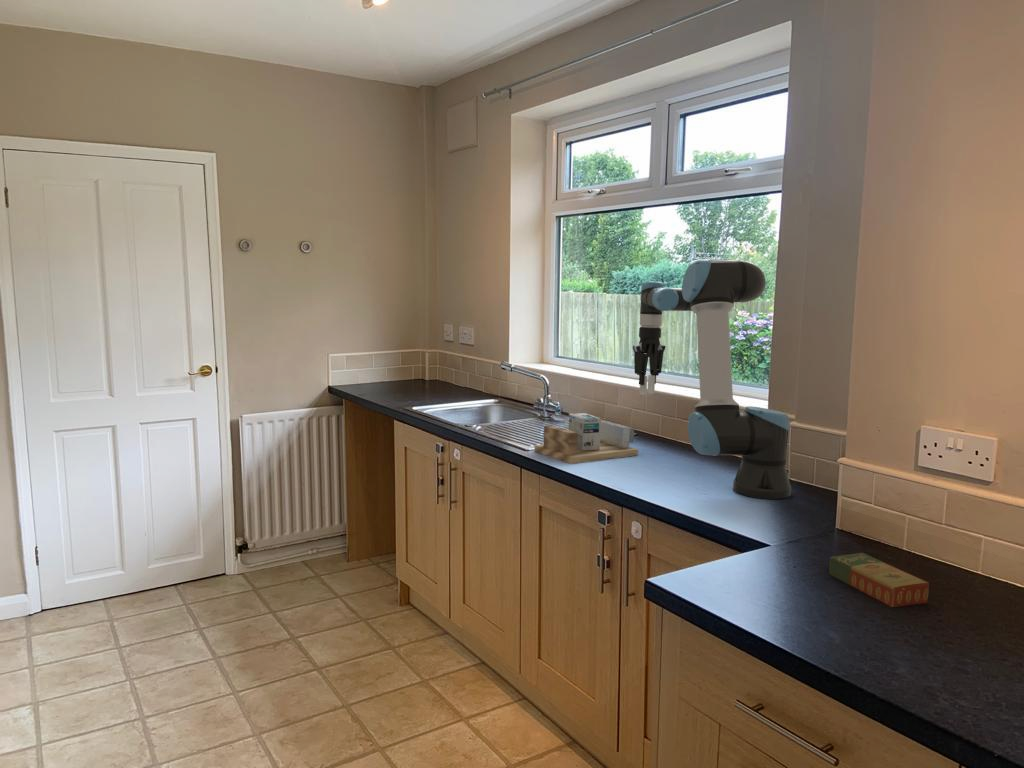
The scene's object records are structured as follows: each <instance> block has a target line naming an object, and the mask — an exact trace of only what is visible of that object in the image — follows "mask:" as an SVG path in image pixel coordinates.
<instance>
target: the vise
mask: <svg viewBox="0 0 1024 768" xmlns="http://www.w3.org/2000/svg"><path fill="white" fill-rule="evenodd" d="M543 426H544V427H543V444H534V449H533V450H534V453H535V452H536V453H539V454H541V455H544V456H547V457H550V458H553V459H555V460H559V461H560V462H564V463H567V464H570V465H573V464H572V463H574V464H579V463H578V462H582V463H588V462H587V461H589V462H595V460H596V462H597V461H604V459H605V460H612V459H619V458H626V457H632V456H633V457H635V456H638V455H639V449H638V448H635V447H633V446H629V448H619V447H615V446H612V445H609V444H605V443H602V442H600V450H586V451H582V450H580V449H577V432H573V431H570V430H569V429H567V428H562V427H560V426H556V425H554V424H553V425H552V424H549V425H543Z"/></svg>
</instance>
